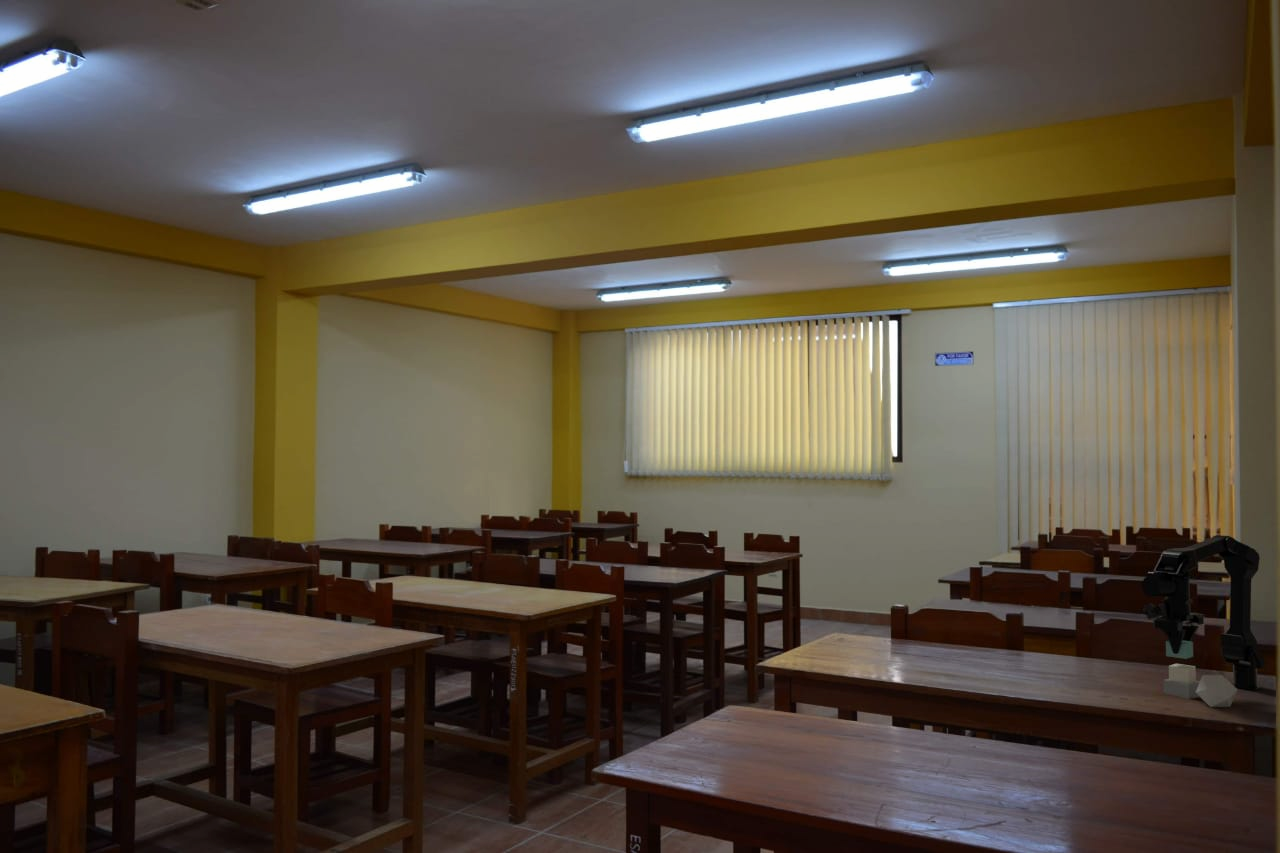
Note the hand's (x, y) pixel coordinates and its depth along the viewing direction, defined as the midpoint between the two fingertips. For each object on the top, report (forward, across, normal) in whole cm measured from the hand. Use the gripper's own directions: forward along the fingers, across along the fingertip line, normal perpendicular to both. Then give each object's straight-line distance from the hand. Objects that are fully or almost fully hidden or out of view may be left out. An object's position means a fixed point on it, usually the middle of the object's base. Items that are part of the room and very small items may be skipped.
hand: (1179, 652), depth 255 cm
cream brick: (+8, 0, 0) cm, 8 cm away
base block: (+12, 0, +1) cm, 12 cm away
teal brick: (+1, 0, 0) cm, 1 cm away
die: (+12, +6, +11) cm, 17 cm away
